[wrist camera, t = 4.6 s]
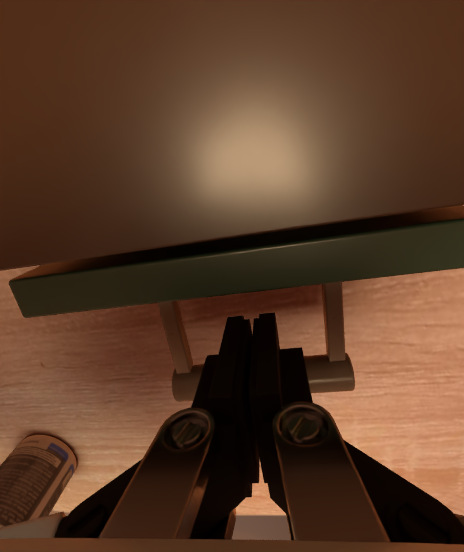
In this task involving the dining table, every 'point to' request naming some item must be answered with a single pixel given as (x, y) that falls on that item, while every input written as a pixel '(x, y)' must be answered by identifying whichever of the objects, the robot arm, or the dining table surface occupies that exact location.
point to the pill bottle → (34, 478)
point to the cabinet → (221, 119)
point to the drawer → (252, 278)
